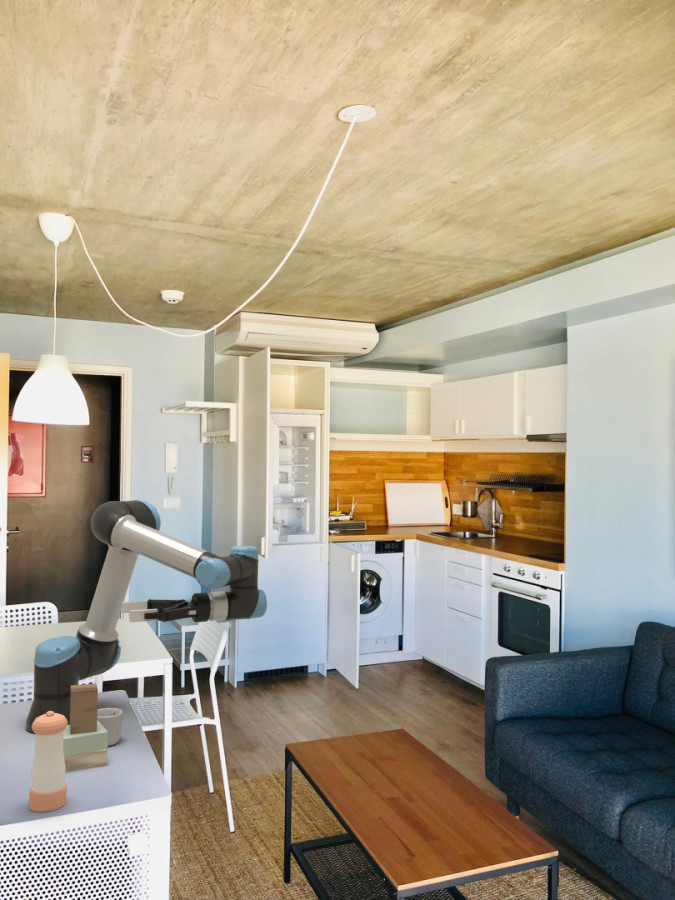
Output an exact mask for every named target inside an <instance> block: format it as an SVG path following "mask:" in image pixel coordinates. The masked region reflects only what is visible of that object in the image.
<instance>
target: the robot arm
mask: <svg viewBox="0 0 675 900" xmlns="http://www.w3.org/2000/svg"><path fill="white" fill-rule="evenodd" d="M161 522H162V521H161V516H160V514H159V512H158V510H157V508H156V507H155V505H153V504H152V503H151V502H148V501H145V500H138V499H135V500H134V499H133V500H116V501H115V500H113V501H112V500H111V501H107V502H104V503H102V504H101V505H99V506H98V507H97V508H96V509H95V510H94V511H93V513H92V515H91V518H90V527H91V528H90V529H91V531H92V533H93V535H94V537H95V538H97V540H99V541H100V542H102V543H103V544H106V545H107V546H108V550H107V553H106V557H105V561H104V562H103V566H102V569H101V573H100V576H99V579H98V583H97V585H96V589H95V593H94V595H93V598H92V601H91V605H90V608H89V611H88V615H87V617H86V620H85V622H83V623H82V624H80V625H79V626H78V629H77V632H76V635H75V636H73V635H61V636H58V637H52V638H48V639H45V640H43V641H41V642H40V643H39V644H38V645H37V646H36V647H35V653H34V659H33V664H34V665H33V667H34V668H33V701H32V702H31V703H32V704H31V706H30V708H29V712H28V714H27V717H26V719H25V730H26V731H27V732H29V733H33V734H35V733H34V732H33V730H32V724H33V722H34V720H35V719H36V718H37V717H39V716H41V715H44V714H46V713H47V712H48V711H53V712H54V713H58V714H61V715H64V716H65V718H66V719H67V722H68V724H67V725H70V696H71V685H80V684H79V681H82V680H85V679H89V678H91V677H94V676H99V675H102V674H104V673H106V672H107V671H110V670H112V668H114V667H115V666H116V664H118V661H119V660H120V656H121V651H122V649H121V648H122V647H121V646H122V645H120V643H121V642H120V640H119V633H118V632H117V629H116V627H117V624H118V621H119V617H120V614H129V623H140V622H141V623H142V622H153V621H159V622H163V623H166V622H173V621H178V620H182V619H188V618H191V619H192V621H193V623H205V622H208V621H210V622H215V621H216V623H217V624H218V623H219V624H220V623H221V621H231V620H232V621H233V620H234V621H235V620H236V621H237V620H250V619H256V618H262V617H263V616H265V614H266V612H267V609H268V608H267V607H268V601H267V596H266V592H265V591H264V589H259V587H258V584H259V582H258V581H259V580H258V579H259V549H258V548H257V547H256V546H252V545H234V546H232V547H231V548H230V553H229V555H226V556H219V555H217V554H214V553H212V552H210V551H207V550H205V549H203V548H201V547H198V546H197V545H193V544H192V543H189V542H186V541H183V540H182V539H179V538H176V537H175V536H171V535H169V534H167V533H164V532H162V531H160V530H161V529H160V528H161V524H162V523H161ZM139 555H140V556H142V557H145V558H147V559H149V560H153V561H154V562H156V563H158V564H161V565H163V566H166V567H168V568H171V569H172V570H175V571H177V572H180V573H182V574H184V575H186V576H189V577H190V578H193V579H196V581H197V583H198V584H199V586H200V587H202V588H204V589H205V590H217V589H222V588H224V587H227V586H229V591H223V590H222V591H210V592H208V593H207V592H198V593H197V592H194V593H193V594H192V596H191V600H190V601H187V600H186V599H183V598H182V599H152V598H149V599H148V600H142V601H140V600H139V601H128V602H127V601H125V598H126V595H127V592H128V589H129V586H130V582H131V579H132V576H133V573H134V569H135V567H136V563H137V561H138V560H137V559H138V557H139Z"/></svg>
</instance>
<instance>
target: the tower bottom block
mask: <svg viewBox="0 0 675 900" xmlns="http://www.w3.org/2000/svg"><path fill="white" fill-rule="evenodd" d="M64 761H65V773H67V772H73V771H79V770H80V769H81V770H86V769H92V768H93V769H94V768H99V767H107V766H108V749H105V750H99V751H93V752H88V753H82V754H76V755H70V756H65V757H64Z"/></svg>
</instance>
